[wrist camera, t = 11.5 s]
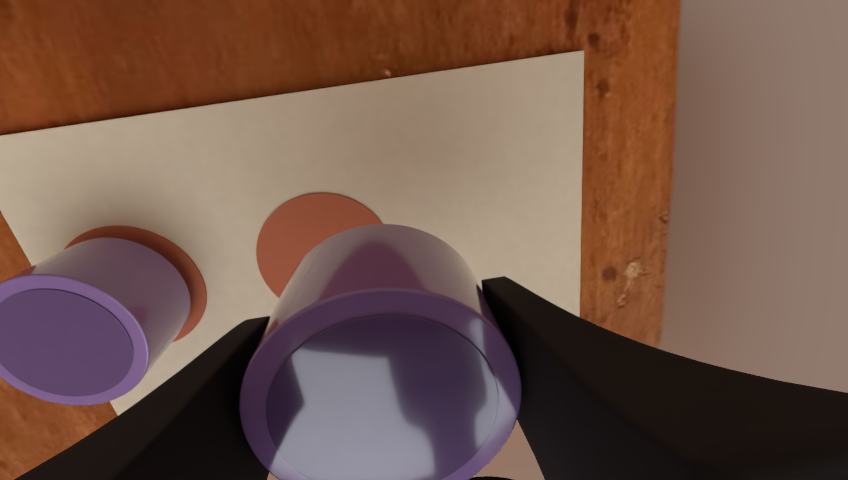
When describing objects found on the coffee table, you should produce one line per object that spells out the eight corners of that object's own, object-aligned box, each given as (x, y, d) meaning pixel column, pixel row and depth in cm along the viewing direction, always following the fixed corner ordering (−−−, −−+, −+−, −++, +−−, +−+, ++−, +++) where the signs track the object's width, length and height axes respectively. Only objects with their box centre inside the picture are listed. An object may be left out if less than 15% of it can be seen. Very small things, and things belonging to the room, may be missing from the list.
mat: (125, 415, 20) (119, 423, 20) (-30, 139, 15) (-44, 141, 14) (576, 333, 21) (580, 338, 21) (579, 50, 16) (585, 49, 16)
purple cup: (403, 406, 13) (413, 540, 9) (249, 327, 11) (182, 452, 7) (513, 283, 11) (579, 379, 8) (358, 174, 10) (344, 228, 6)
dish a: (164, 359, 19) (110, 428, 15) (41, 304, 17) (-55, 366, 13) (219, 274, 17) (175, 326, 14) (91, 206, 16) (1, 244, 12)
